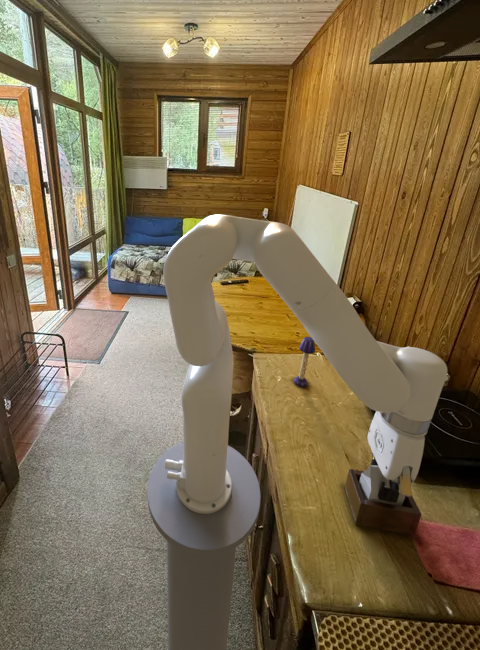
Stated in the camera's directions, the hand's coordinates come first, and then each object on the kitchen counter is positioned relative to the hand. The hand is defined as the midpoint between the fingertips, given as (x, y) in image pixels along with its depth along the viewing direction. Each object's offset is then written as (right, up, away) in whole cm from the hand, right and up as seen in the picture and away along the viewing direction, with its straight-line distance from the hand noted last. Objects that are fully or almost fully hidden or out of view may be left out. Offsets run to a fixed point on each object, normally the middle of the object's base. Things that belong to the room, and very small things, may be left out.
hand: (381, 486), depth 61 cm
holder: (0, -6, +2) cm, 7 cm away
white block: (0, -5, +2) cm, 5 cm away
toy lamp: (-2, +6, +40) cm, 41 cm away
